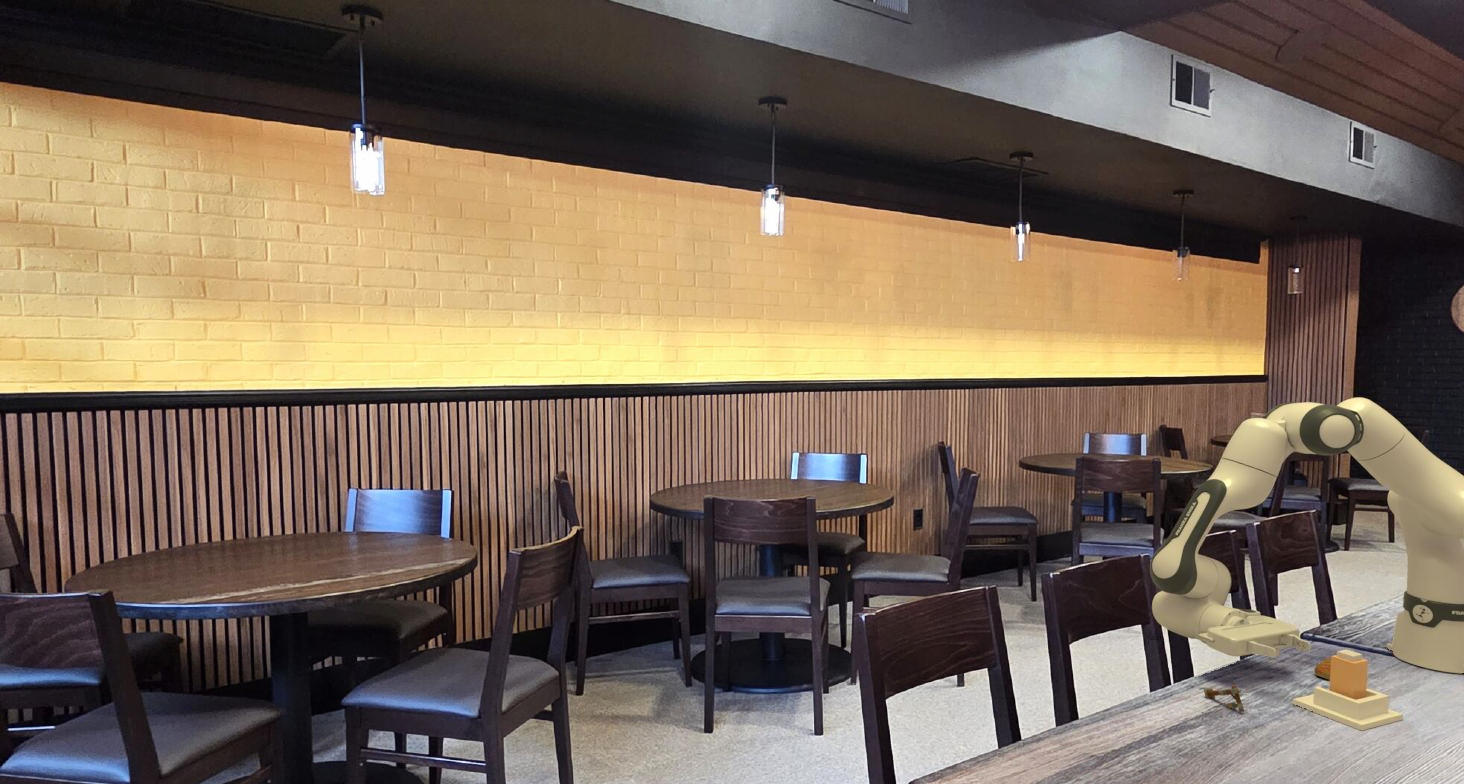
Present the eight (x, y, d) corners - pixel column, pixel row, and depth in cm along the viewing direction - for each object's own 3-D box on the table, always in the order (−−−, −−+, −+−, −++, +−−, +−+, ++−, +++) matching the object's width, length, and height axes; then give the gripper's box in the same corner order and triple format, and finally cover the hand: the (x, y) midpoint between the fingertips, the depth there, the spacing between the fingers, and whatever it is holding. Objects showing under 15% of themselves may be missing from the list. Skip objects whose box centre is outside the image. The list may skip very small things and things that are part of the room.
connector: (1342, 700, 160) (1345, 647, 160) (1365, 708, 157) (1368, 654, 156) (1328, 703, 159) (1331, 650, 158) (1351, 712, 155) (1354, 657, 155)
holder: (1333, 694, 166) (1334, 674, 166) (1402, 719, 155) (1403, 697, 155) (1292, 704, 161) (1293, 683, 161) (1361, 730, 150) (1362, 708, 150)
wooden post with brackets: (1242, 711, 155) (1235, 685, 157) (1209, 712, 162) (1203, 687, 164) (1250, 710, 156) (1243, 684, 157) (1217, 711, 163) (1210, 686, 164)
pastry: (1337, 686, 171) (1338, 667, 171) (1304, 674, 177) (1304, 656, 177) (1368, 680, 174) (1369, 661, 174) (1334, 668, 181) (1335, 650, 180)
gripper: (1192, 619, 175) (1258, 640, 162) (1258, 608, 183) (1326, 628, 171) (1190, 649, 175) (1256, 673, 163) (1257, 637, 184) (1324, 659, 171)
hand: (1292, 650), depth 167 cm, fingers open, 8 cm apart
